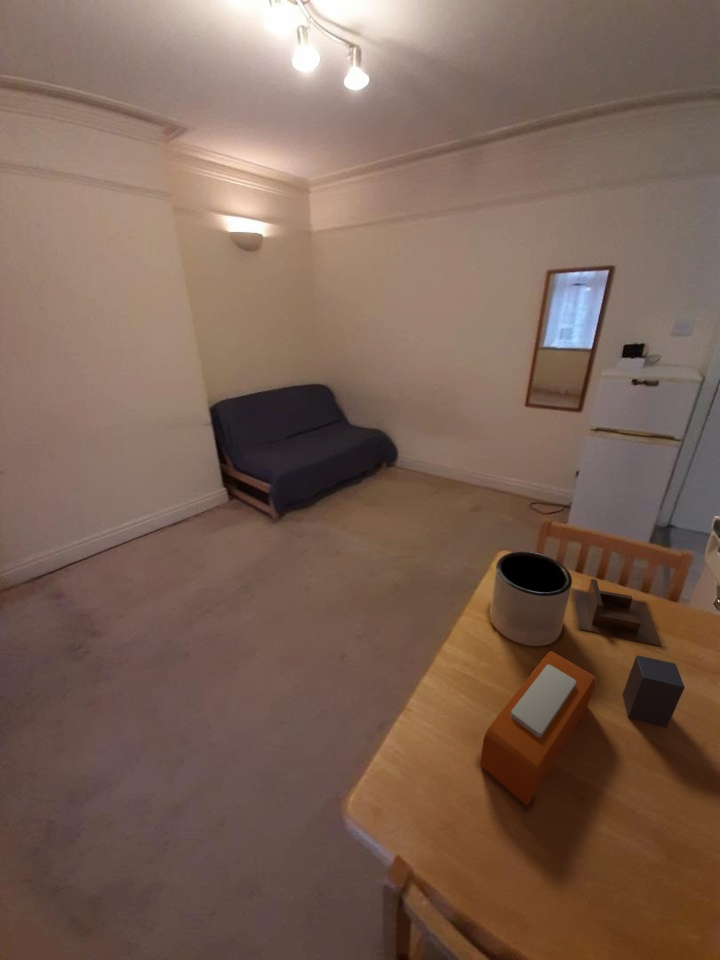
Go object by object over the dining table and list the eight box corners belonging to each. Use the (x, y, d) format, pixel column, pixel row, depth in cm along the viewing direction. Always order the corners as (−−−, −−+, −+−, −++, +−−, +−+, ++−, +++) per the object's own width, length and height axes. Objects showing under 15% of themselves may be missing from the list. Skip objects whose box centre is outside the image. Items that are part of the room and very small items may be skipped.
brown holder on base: (643, 607, 100) (651, 583, 97) (659, 650, 88) (669, 625, 85) (572, 594, 105) (577, 570, 102) (578, 633, 93) (584, 608, 90)
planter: (477, 626, 97) (483, 574, 90) (506, 591, 107) (513, 542, 100) (546, 662, 87) (558, 607, 80) (570, 619, 97) (582, 568, 90)
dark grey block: (657, 707, 77) (675, 663, 71) (664, 732, 72) (685, 687, 67) (620, 698, 79) (636, 654, 73) (626, 722, 74) (643, 677, 69)
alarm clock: (544, 682, 82) (553, 642, 78) (587, 710, 77) (599, 668, 72) (478, 770, 68) (484, 727, 63) (525, 811, 62) (535, 768, 58)
